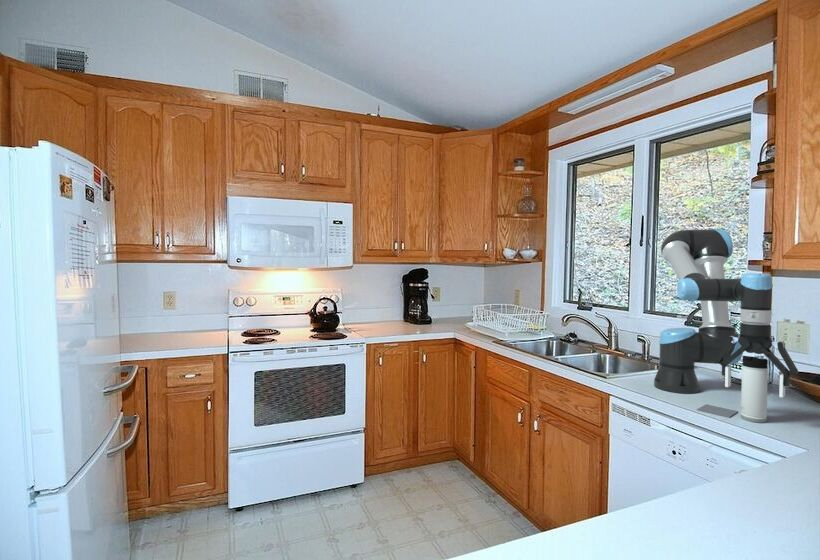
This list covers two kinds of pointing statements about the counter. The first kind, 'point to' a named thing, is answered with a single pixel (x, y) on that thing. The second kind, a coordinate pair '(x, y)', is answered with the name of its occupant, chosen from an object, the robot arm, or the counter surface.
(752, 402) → the travel mug
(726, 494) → the counter surface
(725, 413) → the rubber mat
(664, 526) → the counter surface
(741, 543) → the counter surface
